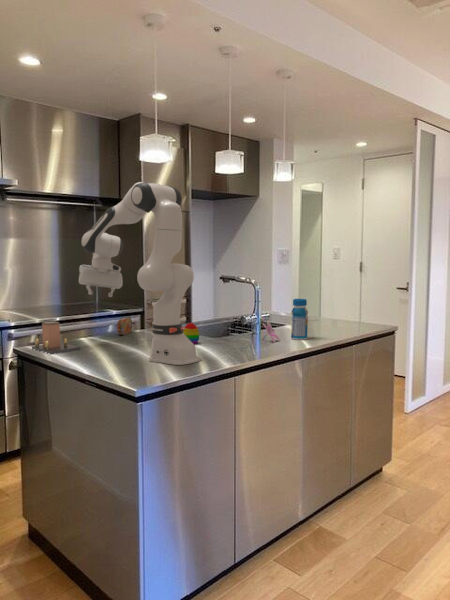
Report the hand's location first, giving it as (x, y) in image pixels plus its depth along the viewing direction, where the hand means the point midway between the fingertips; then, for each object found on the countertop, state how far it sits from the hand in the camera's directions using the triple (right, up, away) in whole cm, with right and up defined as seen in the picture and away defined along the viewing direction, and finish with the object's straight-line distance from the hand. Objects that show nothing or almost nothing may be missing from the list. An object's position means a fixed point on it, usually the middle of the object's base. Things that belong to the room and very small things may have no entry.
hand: (100, 295), depth 224 cm
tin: (+4, -20, +36) cm, 41 cm away
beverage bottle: (+95, -22, +20) cm, 100 cm away
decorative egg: (+41, -23, +8) cm, 48 cm away
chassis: (-19, -24, -5) cm, 31 cm away
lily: (+80, -23, +13) cm, 84 cm away
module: (-21, -23, -5) cm, 32 cm away
